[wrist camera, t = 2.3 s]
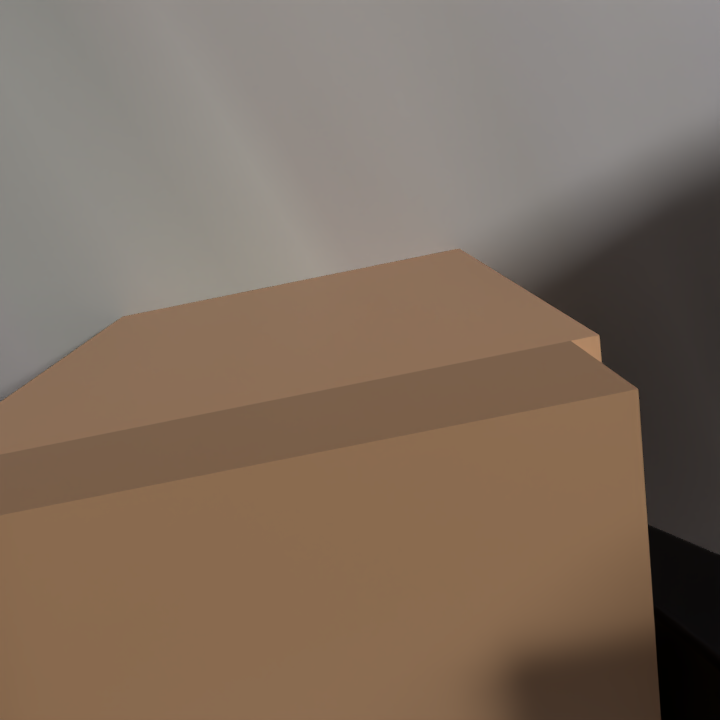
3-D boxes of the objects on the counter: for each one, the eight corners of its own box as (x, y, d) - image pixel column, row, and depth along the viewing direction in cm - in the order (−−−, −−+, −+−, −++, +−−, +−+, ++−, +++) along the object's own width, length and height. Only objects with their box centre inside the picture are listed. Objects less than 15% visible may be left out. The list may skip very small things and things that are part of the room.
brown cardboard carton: (459, 248, 9) (672, 382, 3) (524, 684, 11) (716, 1200, 6) (122, 316, 9) (-225, 560, 3) (254, 735, 12) (176, 1295, 6)
